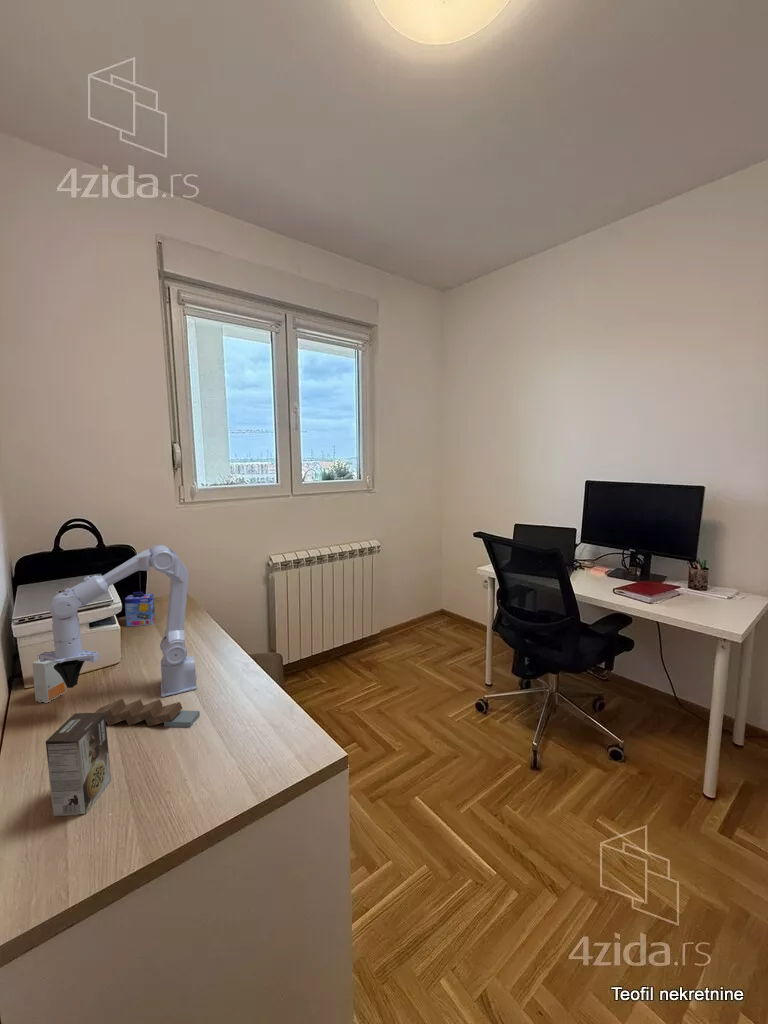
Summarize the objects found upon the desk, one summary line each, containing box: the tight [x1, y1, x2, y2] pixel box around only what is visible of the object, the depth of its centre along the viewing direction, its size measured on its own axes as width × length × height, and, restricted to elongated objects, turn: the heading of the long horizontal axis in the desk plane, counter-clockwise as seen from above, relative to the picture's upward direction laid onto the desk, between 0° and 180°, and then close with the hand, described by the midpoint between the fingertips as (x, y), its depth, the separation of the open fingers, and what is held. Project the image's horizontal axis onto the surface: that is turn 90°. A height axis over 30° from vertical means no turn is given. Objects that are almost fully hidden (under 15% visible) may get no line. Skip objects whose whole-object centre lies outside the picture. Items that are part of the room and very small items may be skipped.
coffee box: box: [45, 712, 112, 817], centre depth 85 cm, size 9×6×16 cm
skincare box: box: [31, 659, 67, 704], centre depth 121 cm, size 6×4×12 cm
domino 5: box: [163, 709, 201, 728], centre depth 111 cm, size 2×5×7 cm
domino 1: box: [94, 698, 126, 719], centre depth 111 cm, size 2×5×7 cm
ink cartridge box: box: [124, 591, 156, 627], centre depth 176 cm, size 10×6×14 cm, turn 104°
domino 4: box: [145, 701, 183, 727], centre depth 111 cm, size 2×5×7 cm
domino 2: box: [105, 698, 145, 727], centre depth 111 cm, size 2×5×7 cm
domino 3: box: [125, 698, 164, 726], centre depth 111 cm, size 2×5×7 cm
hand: (72, 685), depth 112 cm, fingers closed
